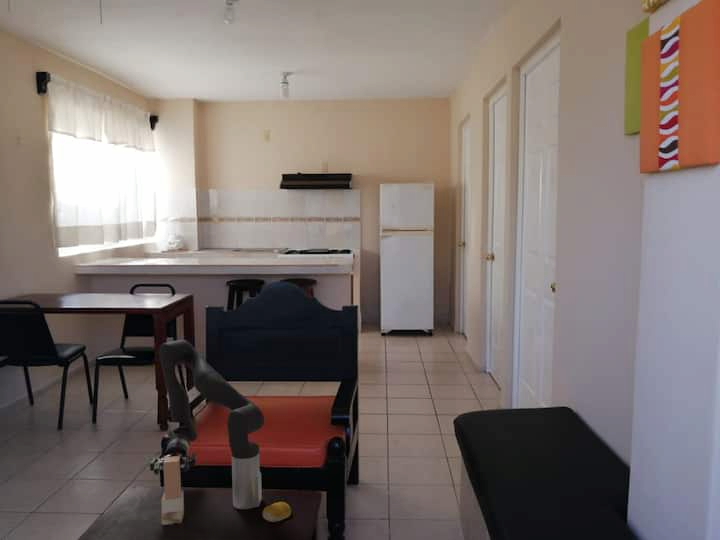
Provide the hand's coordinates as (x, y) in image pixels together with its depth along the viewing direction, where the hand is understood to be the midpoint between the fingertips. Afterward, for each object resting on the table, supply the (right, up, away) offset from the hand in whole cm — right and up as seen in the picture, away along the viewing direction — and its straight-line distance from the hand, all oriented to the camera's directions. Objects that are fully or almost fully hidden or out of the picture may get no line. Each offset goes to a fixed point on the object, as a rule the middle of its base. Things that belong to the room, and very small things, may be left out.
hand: (170, 470), depth 180 cm
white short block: (0, -13, +2) cm, 13 cm away
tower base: (0, -17, +2) cm, 17 cm away
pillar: (0, -9, +1) cm, 9 cm away
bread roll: (+33, -16, +3) cm, 37 cm away
